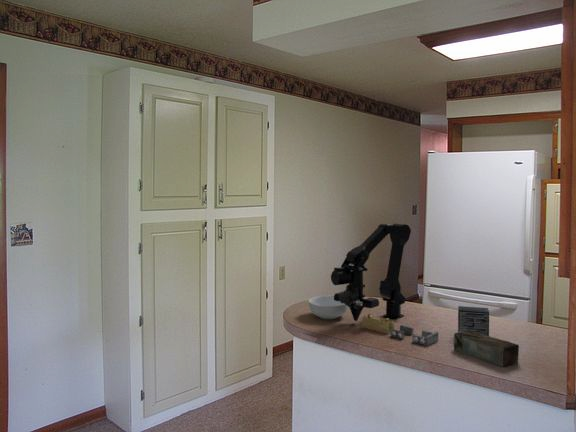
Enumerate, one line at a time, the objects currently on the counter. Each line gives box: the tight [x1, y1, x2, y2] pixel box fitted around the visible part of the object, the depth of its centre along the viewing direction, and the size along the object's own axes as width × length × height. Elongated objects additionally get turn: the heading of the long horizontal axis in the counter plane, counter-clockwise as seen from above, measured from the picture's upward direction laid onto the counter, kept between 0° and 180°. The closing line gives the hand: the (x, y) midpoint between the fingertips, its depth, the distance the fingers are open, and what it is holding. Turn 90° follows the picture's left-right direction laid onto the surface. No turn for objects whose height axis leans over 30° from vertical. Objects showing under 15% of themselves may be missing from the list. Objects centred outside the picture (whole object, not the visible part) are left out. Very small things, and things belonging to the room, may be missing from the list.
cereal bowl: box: [308, 295, 349, 320], centre depth 198 cm, size 17×17×7 cm
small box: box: [457, 305, 490, 336], centre depth 172 cm, size 11×6×10 cm, turn 71°
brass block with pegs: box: [362, 313, 395, 335], centre depth 181 cm, size 4×12×5 cm, turn 45°
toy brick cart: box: [390, 324, 439, 347], centre depth 170 cm, size 9×15×3 cm, turn 45°
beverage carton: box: [453, 330, 520, 368], centre depth 153 cm, size 8×19×7 cm, turn 31°
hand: (355, 320), depth 189 cm, fingers closed
